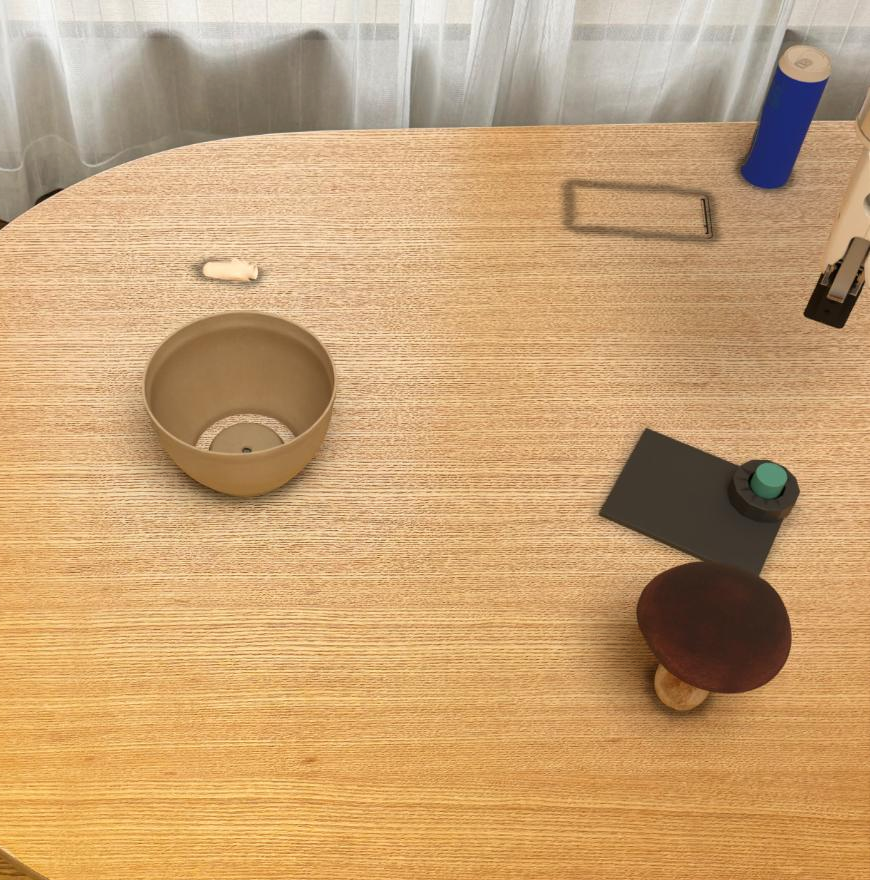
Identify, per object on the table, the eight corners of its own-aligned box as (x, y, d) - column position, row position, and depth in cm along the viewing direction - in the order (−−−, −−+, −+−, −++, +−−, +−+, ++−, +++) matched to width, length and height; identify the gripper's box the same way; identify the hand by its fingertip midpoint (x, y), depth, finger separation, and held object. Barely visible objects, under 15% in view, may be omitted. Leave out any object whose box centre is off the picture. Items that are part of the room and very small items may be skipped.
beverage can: (755, 160, 131) (800, 37, 119) (794, 182, 129) (844, 58, 117) (728, 181, 129) (771, 57, 117) (768, 203, 127) (816, 79, 115)
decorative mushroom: (594, 639, 95) (635, 532, 83) (726, 632, 96) (786, 525, 84) (623, 764, 89) (672, 668, 77) (764, 755, 90) (835, 659, 77)
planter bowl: (231, 369, 112) (223, 283, 103) (370, 445, 107) (375, 362, 98) (118, 476, 104) (99, 393, 95) (262, 564, 99) (257, 486, 90)
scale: (793, 499, 104) (807, 475, 101) (754, 592, 98) (767, 569, 95) (642, 437, 108) (651, 412, 105) (596, 523, 102) (604, 498, 99)
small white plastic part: (217, 258, 121) (215, 234, 118) (263, 283, 119) (261, 259, 116) (194, 277, 119) (192, 254, 117) (240, 302, 117) (239, 279, 115)
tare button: (784, 482, 101) (791, 470, 100) (775, 503, 100) (782, 491, 98) (755, 470, 102) (761, 458, 100) (745, 491, 100) (752, 478, 99)
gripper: (953, 199, 73) (846, 396, 88) (1001, 73, 80) (895, 275, 95) (833, 162, 75) (749, 361, 90) (891, 42, 82) (804, 245, 97)
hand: (824, 316), depth 93 cm, fingers closed
